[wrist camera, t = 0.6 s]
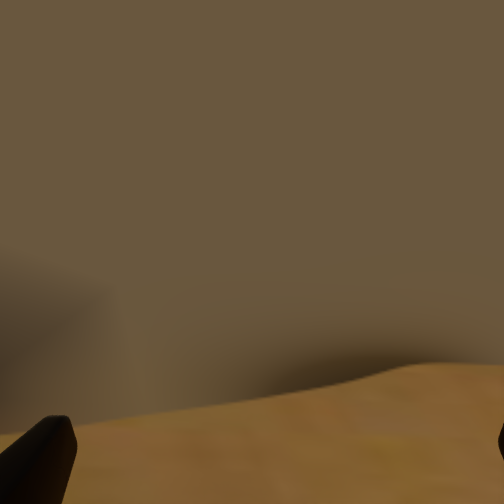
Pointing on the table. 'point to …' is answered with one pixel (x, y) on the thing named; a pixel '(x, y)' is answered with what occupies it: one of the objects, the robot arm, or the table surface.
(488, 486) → the table surface
